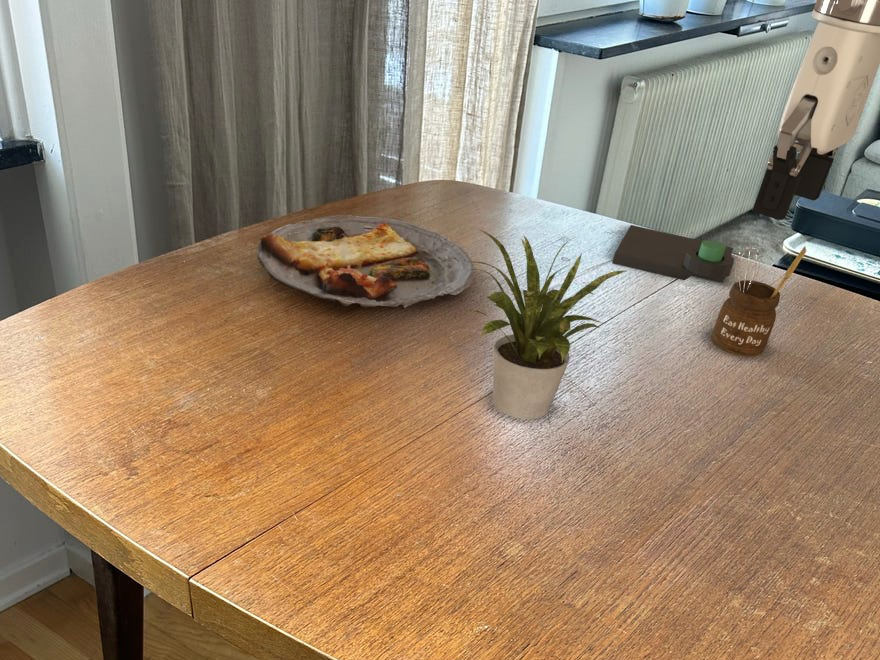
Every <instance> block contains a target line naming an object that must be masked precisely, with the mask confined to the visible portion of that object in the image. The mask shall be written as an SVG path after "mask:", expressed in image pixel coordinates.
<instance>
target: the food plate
mask: <svg viewBox="0 0 880 660" xmlns="http://www.w3.org/2000/svg"><path fill="white" fill-rule="evenodd" d="M259 240H260V241H259V244H258V245H257V255H256V258H257V260H258V261H259V264H260V265H261V266H262V268H263V269H264V271H265V272H266V273H267V275H269V277H270V278H271V280H274V281H275V282H277V283H279V284H280V285H282V286H284V287H286V288H289V289H292V290H295V291H299V292H302V293H303V294H306V295H308V296H309V297H311V298H313V299H315V300H323V301H325V302H331V303H334V307H336V306H337V305H338V304H337V301H338V302H339V305H342V306H343V307H344V306H345V307H348V306H351V305H352V304H359V305H360V308H361V307H362V308H373V307H377V306H380V307H395V308H397V307H399V306H400V305H402V306H403V309H406V308H408V307H410V306H412V305H415V304H417V303H420V302H422V301H429V300H431V299H432V300H434V299H435V298H436V297H439V296H441V297H443V296H445V295H448V294H449V295H452V296H457V295H458V294H460V293H463V291H465V290H467V288H468V287H470V286H471V285H472V283H473V280H474V279H473V278H474V272H473V271H474V270H473V269H474V263H473V262H471V261H473V260H472V259H471V257H470V256H469V254H468V251H465V248H463V246H461V245H459V244H458V243H456V242H455V241H453V240H451V239H449V238H447V236H445V235H443V233H440V232H437V231H434V230H431V229H429V228H425V227H422V226H421V225H418V224H413V223H410V222H408V221H407V222H406V221H403V220H398V219H397V220H396V219H393V218H385V217H379V216H377V217H371V216H370V217H369V216H367V217H366V216H356V215H354V214H338V215H337V214H336V215H327V216H321V217H317V218H313V219H307V220H302V221H298V222H293V223H289V224H285V225H283V226H281V227H279V228H276V229H275V230H273V231H271V232H269V234H266V235H265V236H261V237H260V238H259Z"/></svg>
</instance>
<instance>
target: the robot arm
mask: <svg viewBox="0 0 880 660" xmlns="http://www.w3.org/2000/svg"><path fill="white" fill-rule="evenodd" d="M811 17H812V18H813V19H815V20H817V21H818V24H817V25H816V28H815V30H814V32H813V35H812V38H811V39H810V42H809V44H808V46H807V49H806V52H805V55H804V56H803V59H802V62H801V64H800V67H799V70H798V72H797V75H796V76H795V80H794V83H793V84H792V88H791V90H790V93H789V96H788V98H787V101H786V104H785V107H784V110H783V112H782V115H781V119H780V122H779V126H778V130H777V134H776V136H777V144H776V145H774V147H773V151H772V155H771V157H770V159H769V160H768V163H767V167H766V170H765V173H764V176H763V178H762V181H761V185H760V187H759V191H758V193H757V195H756V199H755V201H754V204H753V207H752V210H753V212H754V213H756V214H759V215H762V216H765V217H768V218H771V219H774V220H777V221H783V220H784V219H785V218H786V217H787V215H788V212H789V210H790V207H791V204H792V202H793V200H794V197H795V196H796V197H797V196H798V197H801V198H804V199H807V200H810V201H816V200H818V199H819V198H820V197H821V194H822V191H823V188H824V186H825V184H826V181H827V178H828V176H829V173H830V170H831V168H832V166H833V163H834V160H835V156H836V155H837V153H838V150H839V148H840V147H841V146H843V145H845V144H846V143H849V142H850V141H851V140H852V138H854V135H855V134H856V131H857V129H858V126H859V123H860V120H861V117H862V116H863V115H862V114H863V112H864V109H865V106H866V104H867V101H868V98H869V96H870V92H871V90H872V87H873V84H874V82H875V80H876V79H875V78H876V76H877V73H878V70H879V67H880V0H816V1H815V4H814V7H813V10H812V12H811ZM798 152H799V153H798ZM797 153H798V155H797Z"/></svg>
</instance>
